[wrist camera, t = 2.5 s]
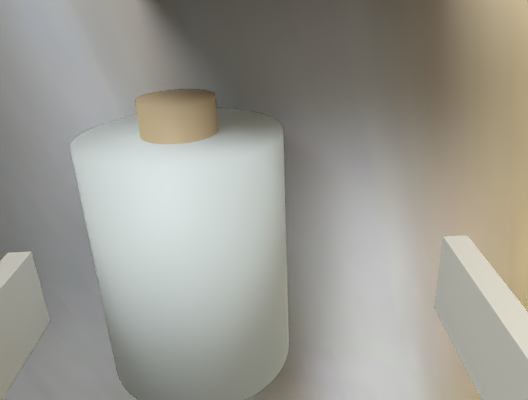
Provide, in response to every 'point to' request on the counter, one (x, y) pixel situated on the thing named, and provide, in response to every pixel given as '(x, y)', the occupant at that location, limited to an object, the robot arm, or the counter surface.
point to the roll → (189, 245)
